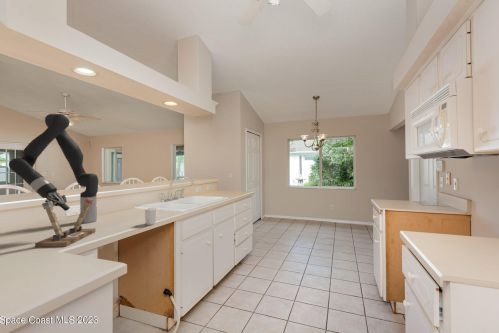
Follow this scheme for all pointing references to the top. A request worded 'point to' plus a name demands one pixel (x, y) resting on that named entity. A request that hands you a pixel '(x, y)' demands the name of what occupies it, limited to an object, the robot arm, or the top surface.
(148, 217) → the white cup
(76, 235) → the switch board
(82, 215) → the terracotta lever
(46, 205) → the slate lever
